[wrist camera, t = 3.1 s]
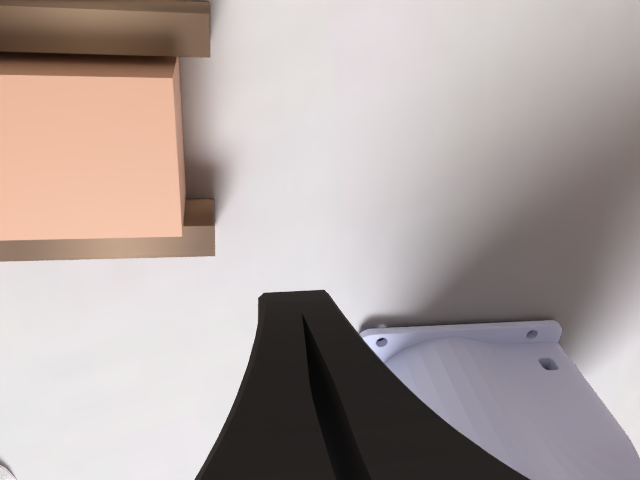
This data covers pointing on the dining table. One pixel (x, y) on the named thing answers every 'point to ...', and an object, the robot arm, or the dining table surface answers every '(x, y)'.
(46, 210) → the terracotta block
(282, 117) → the dining table surface
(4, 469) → the cloth
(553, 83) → the dining table surface
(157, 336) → the dining table surface
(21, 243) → the building blocks
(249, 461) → the robot arm
